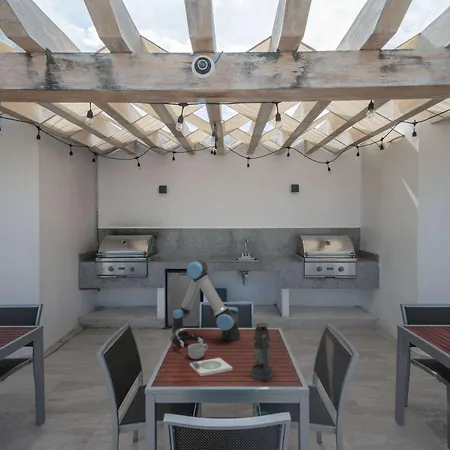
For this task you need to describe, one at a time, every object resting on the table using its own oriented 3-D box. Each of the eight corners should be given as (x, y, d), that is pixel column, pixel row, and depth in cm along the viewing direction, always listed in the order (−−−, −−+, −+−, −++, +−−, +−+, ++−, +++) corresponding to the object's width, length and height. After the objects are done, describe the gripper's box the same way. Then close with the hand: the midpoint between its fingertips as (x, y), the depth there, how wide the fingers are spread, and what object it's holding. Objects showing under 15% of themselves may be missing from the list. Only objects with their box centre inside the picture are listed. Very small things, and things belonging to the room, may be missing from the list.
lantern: (247, 369, 225) (246, 319, 225) (270, 368, 227) (270, 317, 227) (255, 383, 206) (254, 327, 206) (280, 381, 208) (280, 326, 208)
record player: (219, 360, 241) (219, 353, 241) (232, 370, 225) (232, 363, 225) (189, 365, 233) (189, 358, 233) (200, 376, 216) (200, 369, 216)
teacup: (191, 361, 239) (191, 349, 239) (185, 356, 248) (185, 344, 248) (211, 358, 245) (211, 345, 245) (204, 353, 255) (204, 341, 255)
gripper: (198, 337, 280) (209, 346, 261) (165, 342, 269) (174, 351, 250) (198, 327, 280) (209, 335, 261) (165, 331, 269) (174, 340, 250)
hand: (192, 343), depth 255 cm, fingers open, 13 cm apart
